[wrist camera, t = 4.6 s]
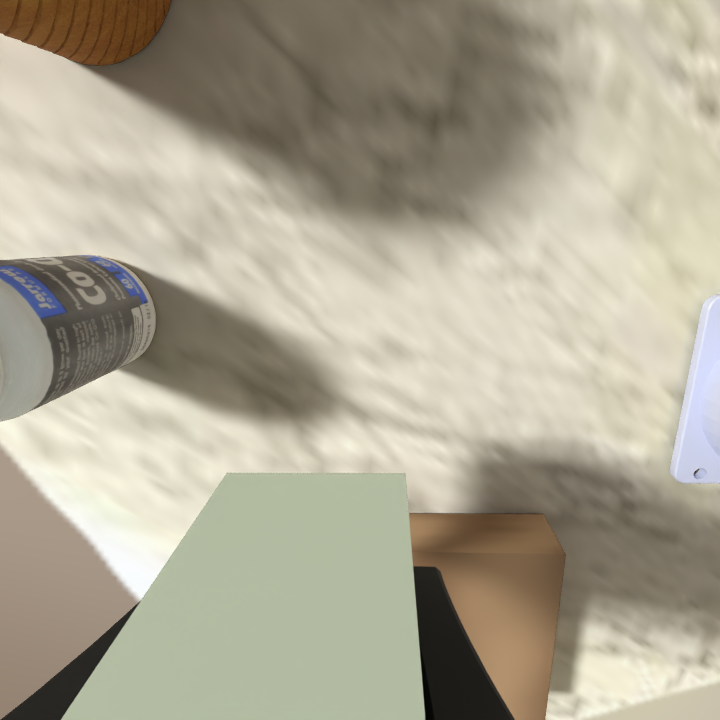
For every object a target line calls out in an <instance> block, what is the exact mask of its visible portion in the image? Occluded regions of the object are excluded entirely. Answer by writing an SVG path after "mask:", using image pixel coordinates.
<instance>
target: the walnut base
mask: <svg viewBox="0 0 720 720" xmlns="http://www.w3.org/2000/svg"><path fill="white" fill-rule="evenodd" d="M409 522H410V535H411V547H412V560H413V566H426V567H437V568H438V569H439V570H440V571H441V575H442V578H443V581H444V583H445V586H446V589H447V591H448V594H449V596H450V598H451V601H452V603H453V605H454V608H455V610H456V612H457V614H458V616H459V618H460V620H461V623H462V625H463V627H464V629H465V631H466V633H467V635H468V637H469V639H470V641H471V643H472V645H473V646H474V648H475V650H476V652H477V654H478V656H479V658H480V660H481V662H482V663H483V665H484V667H485V669H486V671H487V673H488V674H489V676H490V678H491V680H492V682H493V683H494V685H495V687H496V689H497V690H498V692H499V694H500V695H501V697H502V699H503V700H504V702H505V704H506V705H507V707H508V709H509V711H510V712H511V714H512V716H513V717H514V719H515V720H545V716H546V708H547V700H548V692H549V684H550V676H551V668H552V660H553V652H554V644H555V636H556V628H557V620H558V612H559V604H560V596H561V588H562V580H563V572H564V564H565V556H566V553H565V552H564V550H563V548H562V546H561V545H560V543H559V541H558V539H557V538H556V536H555V534H554V532H553V530H552V529H551V527H550V525H549V523H548V522H547V520H546V518H545V516H544V515H543V514H416V513H409Z"/></svg>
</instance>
